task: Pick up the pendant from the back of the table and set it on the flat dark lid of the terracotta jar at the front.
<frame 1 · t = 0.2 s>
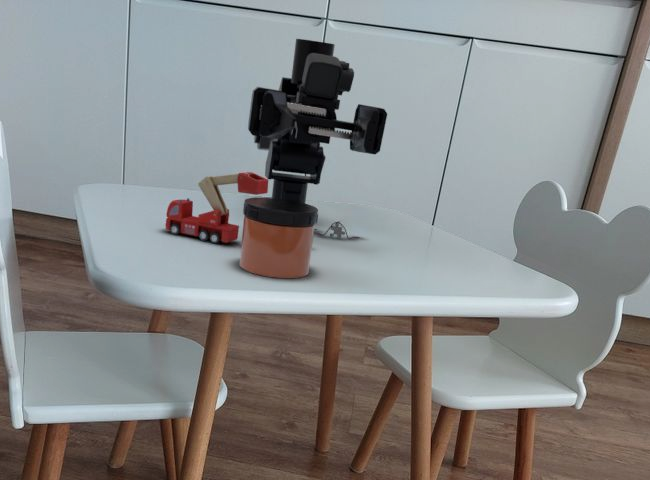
hand: (329, 128, 87), 16 cm above the table, tool horizontal, fingers open, 9 cm apart
jar lid: (281, 208, 80), point 7 cm above the table, screwed on, not yet turned
toy fire truck: (211, 241, 93), on the table
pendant: (334, 237, 106), on the table
jar: (274, 268, 83), on the table
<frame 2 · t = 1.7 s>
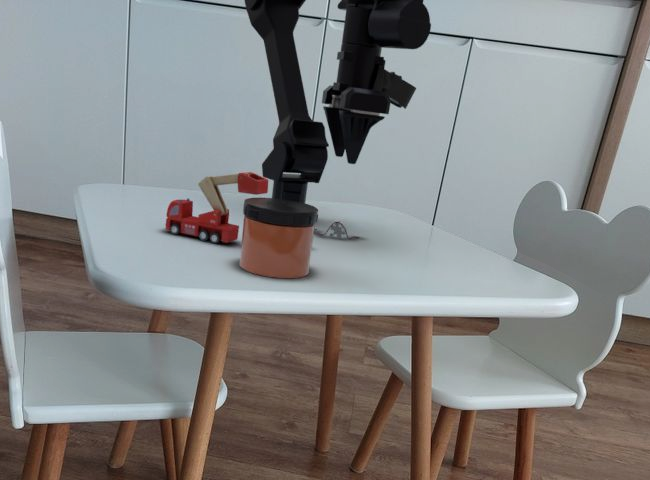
hand: (345, 160, 102), 12 cm above the table, tool pointing down, fingers open, 9 cm apart
nothing on the table moved.
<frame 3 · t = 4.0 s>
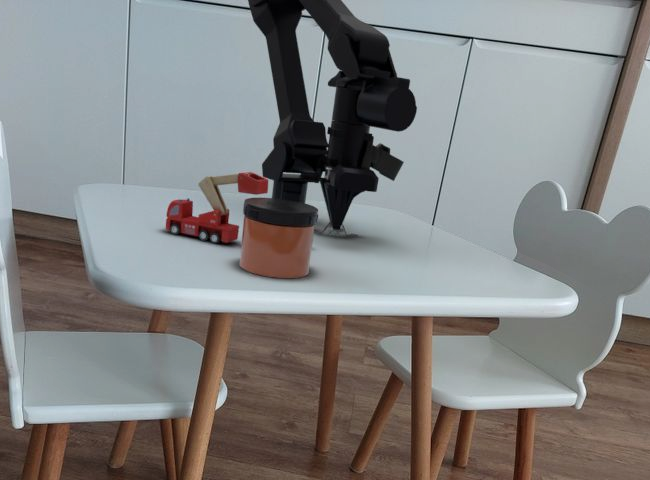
hand: (335, 228, 106), 1 cm above the table, tool pointing down, fingers closed on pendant
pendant: (332, 235, 107), on the table, touching gripper
everything else where it was.
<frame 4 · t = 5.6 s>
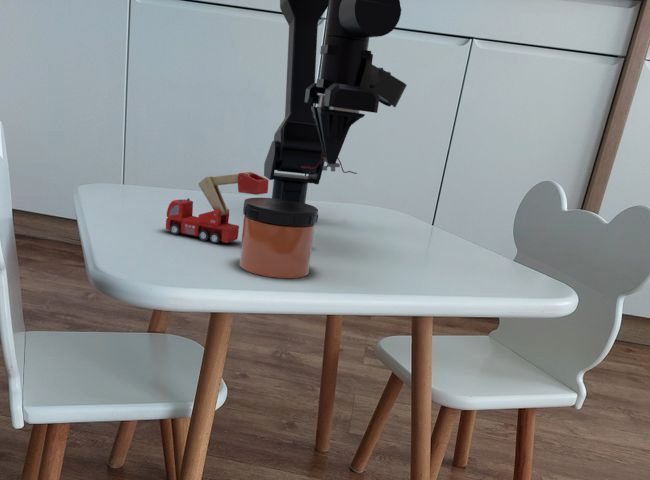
hand: (330, 163, 94), 12 cm above the table, tool pointing down, fingers closed on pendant
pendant: (328, 172, 96), point 10 cm above the table, touching gripper
everything else where it was.
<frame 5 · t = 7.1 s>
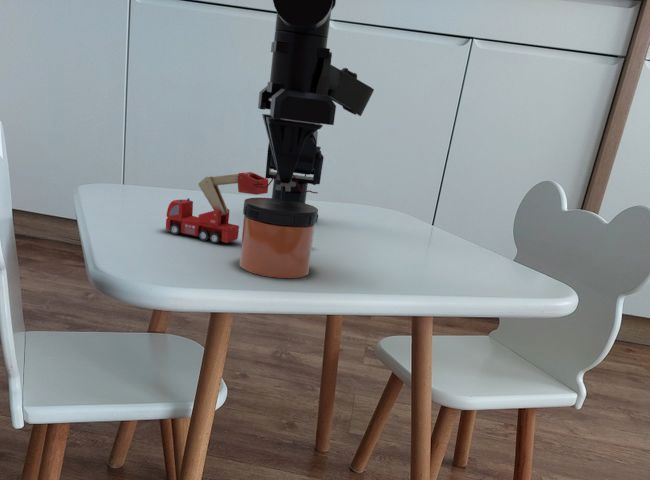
hand: (284, 182, 79), 10 cm above the table, tool pointing down, fingers closed on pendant
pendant: (283, 192, 81), point 9 cm above the table, touching gripper
everything else where it was.
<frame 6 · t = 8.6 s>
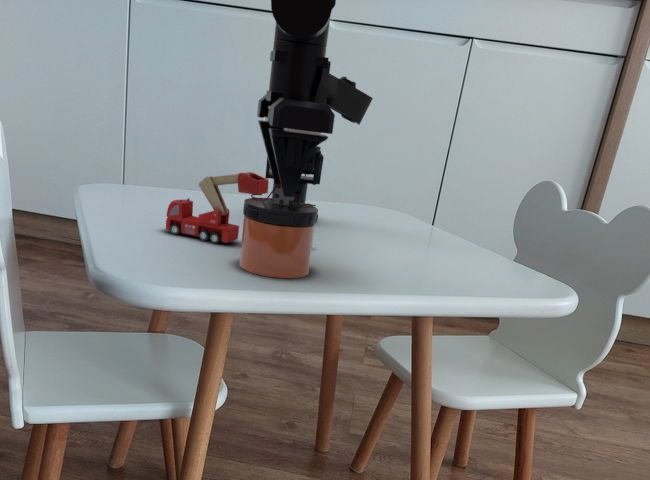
hand: (283, 190, 79), 9 cm above the table, tool pointing down, fingers open, 9 cm apart
jar lid: (281, 208, 80), point 7 cm above the table, screwed on, not yet turned, touching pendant
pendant: (281, 204, 81), point 7 cm above the table, touching jar lid
everything else where it was.
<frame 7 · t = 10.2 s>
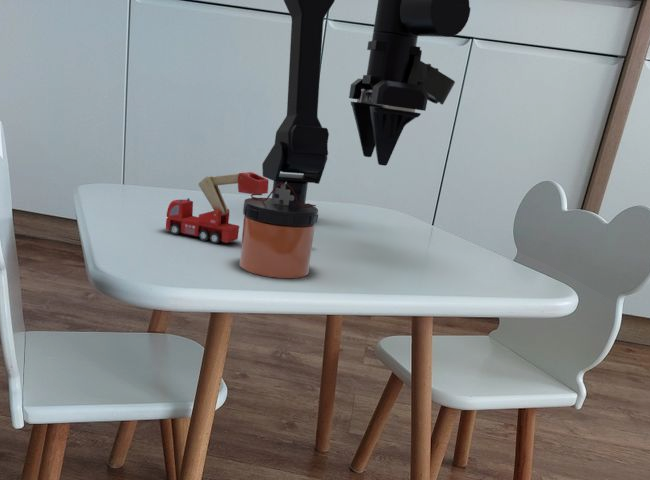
hand: (374, 160, 93), 13 cm above the table, tool pointing down, fingers open, 9 cm apart
nothing on the table moved.
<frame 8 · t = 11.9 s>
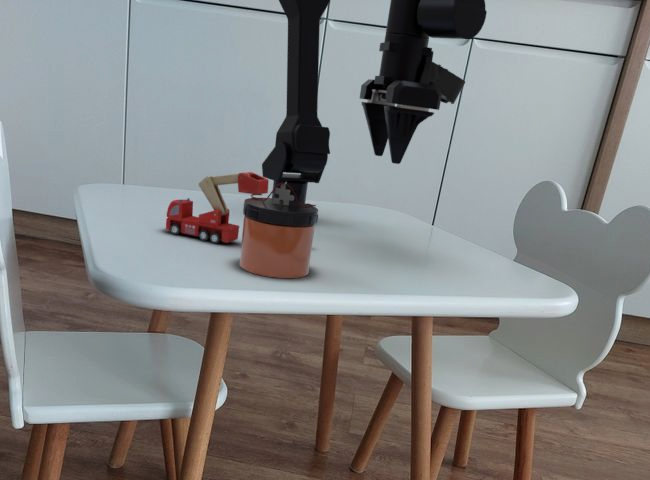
hand: (386, 159, 95), 13 cm above the table, tool pointing down, fingers open, 9 cm apart
nothing on the table moved.
at the end: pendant inside the target area on the jar (1.4 cm from its centre), point 7.5 cm above the jar's base; the gripper is holding nothing; jar tilted 0° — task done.
